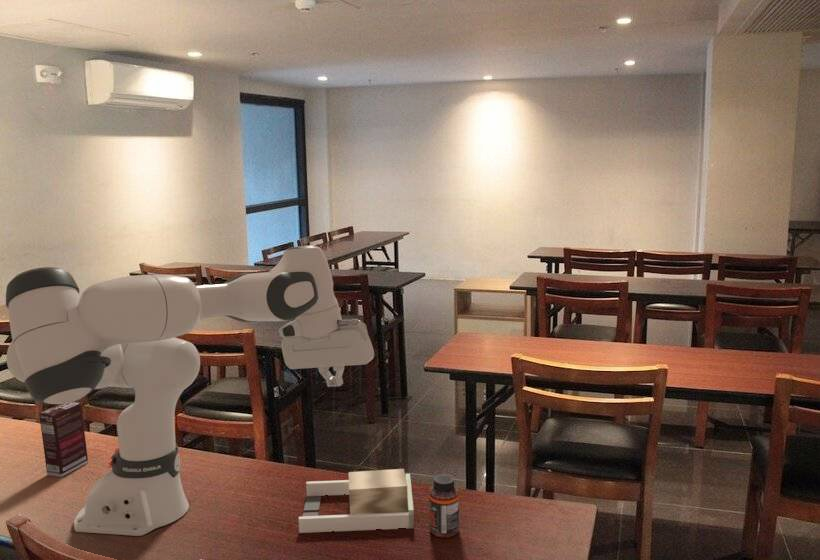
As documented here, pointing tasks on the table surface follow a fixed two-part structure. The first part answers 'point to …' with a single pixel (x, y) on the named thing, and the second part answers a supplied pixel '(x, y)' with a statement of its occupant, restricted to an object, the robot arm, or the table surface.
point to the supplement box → (63, 438)
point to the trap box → (351, 521)
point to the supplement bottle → (444, 507)
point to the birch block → (378, 492)
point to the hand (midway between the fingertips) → (335, 385)
